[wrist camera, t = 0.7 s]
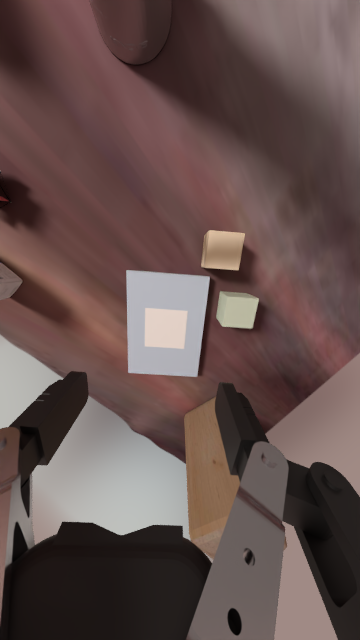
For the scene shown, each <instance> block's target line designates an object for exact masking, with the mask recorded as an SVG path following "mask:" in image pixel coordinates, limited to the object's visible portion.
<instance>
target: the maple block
mask: <svg viewBox="0 0 360 640" xmlns="http://www.w3.org/2000/svg"><path fill="white" fill-rule="evenodd" d="M244 236H245V233H235V232H224V231H213V230H209V231H208V232H207V233H206V234H205V235H204V244H203V253H202V262H201V267H204V268H215V269H228V270H239V265H240V259H241V253H242V248H243V242H244Z"/></svg>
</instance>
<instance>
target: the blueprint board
mask: <svg viewBox="0 0 360 640" xmlns="http://www.w3.org/2000/svg"><path fill="white" fill-rule="evenodd" d="M126 272H127V325H128V373H141V374H158V375H175V376H193V377H197V374H198V366H199V358H200V351H201V343H202V335H203V327H204V319H205V312H206V304H207V296H208V288H209V280H210V277H209V276H199V275H186V274H173V273H161V272H148V271H135V270H126Z"/></svg>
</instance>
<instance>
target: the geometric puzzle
mask: <svg viewBox="0 0 360 640" xmlns="http://www.w3.org/2000/svg"><path fill="white" fill-rule="evenodd" d="M0 173H1V171H0ZM1 175H2V174H1ZM2 178H3V177H2ZM3 181H4V180H3ZM4 184H5V183H4ZM0 187H1V186H0ZM5 187H6V186H5ZM2 190H3V189H2ZM6 190H7V189H6ZM4 193H5V192H4ZM7 193H8V192H7ZM5 195H6V194H5ZM6 196H7V195H6ZM8 196H9V195H8ZM7 198H8V197H7ZM8 199H10V198H8ZM0 201H3V202H10V203H11V201H10V200H9V201H8V200H6V199H5V198H3V197H1V196H0ZM6 205H7V204H6ZM4 206H5V205H4ZM2 207H3V206H2ZM0 208H1V207H0Z"/></svg>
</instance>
